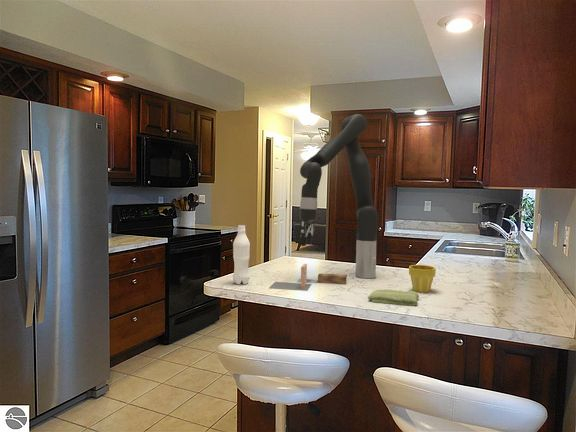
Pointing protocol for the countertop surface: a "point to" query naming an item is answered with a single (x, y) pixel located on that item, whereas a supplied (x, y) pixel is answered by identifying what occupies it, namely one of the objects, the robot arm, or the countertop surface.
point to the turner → (329, 279)
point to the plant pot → (422, 277)
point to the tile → (303, 276)
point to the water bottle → (241, 256)
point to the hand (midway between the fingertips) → (306, 244)
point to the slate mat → (289, 286)
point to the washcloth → (394, 297)
